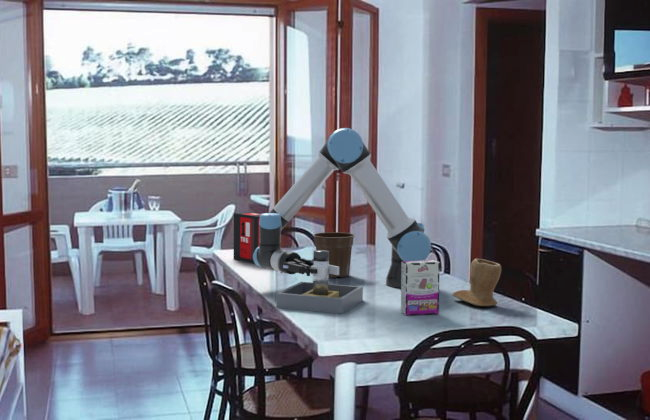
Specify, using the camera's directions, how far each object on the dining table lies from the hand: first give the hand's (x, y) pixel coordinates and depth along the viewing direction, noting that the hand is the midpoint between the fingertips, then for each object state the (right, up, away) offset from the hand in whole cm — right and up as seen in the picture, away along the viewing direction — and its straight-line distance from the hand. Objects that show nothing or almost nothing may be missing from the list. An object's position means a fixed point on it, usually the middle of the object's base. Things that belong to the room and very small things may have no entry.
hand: (331, 271), depth 260 cm
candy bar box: (+27, -13, -7) cm, 31 cm away
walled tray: (-4, -11, +5) cm, 12 cm away
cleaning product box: (-33, -2, +90) cm, 96 cm away
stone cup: (+49, -12, +9) cm, 51 cm away
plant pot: (+1, -6, +57) cm, 58 cm away
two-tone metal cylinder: (-4, -8, +5) cm, 10 cm away
